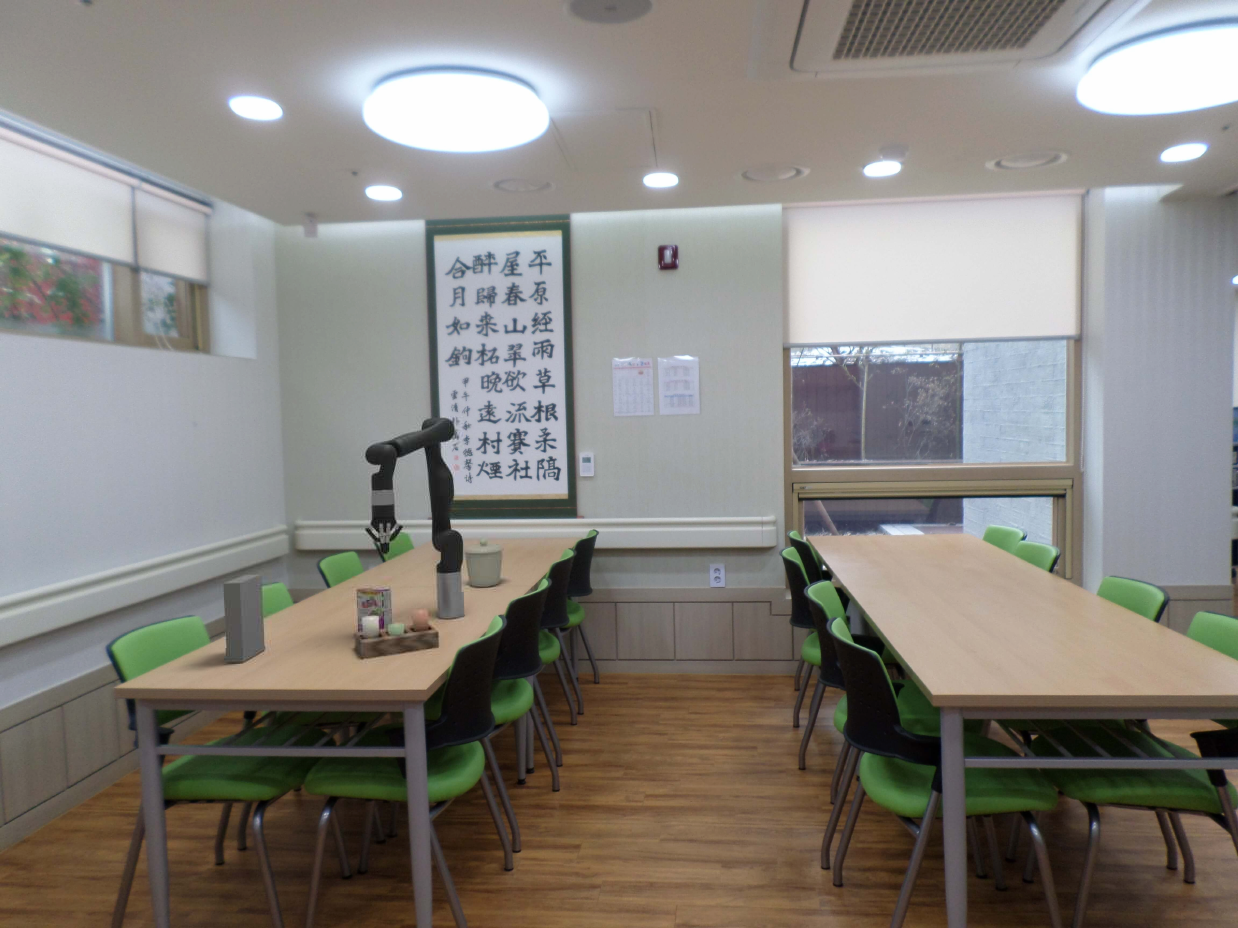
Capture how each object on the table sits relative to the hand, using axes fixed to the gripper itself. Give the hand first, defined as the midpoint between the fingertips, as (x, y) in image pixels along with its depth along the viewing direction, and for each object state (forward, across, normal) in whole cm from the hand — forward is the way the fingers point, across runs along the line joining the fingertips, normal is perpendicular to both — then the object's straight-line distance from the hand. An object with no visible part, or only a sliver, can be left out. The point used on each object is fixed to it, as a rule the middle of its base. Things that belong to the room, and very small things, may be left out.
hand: (384, 553), depth 264 cm
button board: (+29, 0, +14) cm, 32 cm away
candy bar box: (+29, +3, -6) cm, 30 cm away
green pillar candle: (+29, 0, +14) cm, 32 cm away
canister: (+29, -57, -67) cm, 93 cm away
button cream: (+25, +8, +14) cm, 30 cm away
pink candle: (+25, -8, +14) cm, 30 cm away
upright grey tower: (+29, +44, -2) cm, 53 cm away
